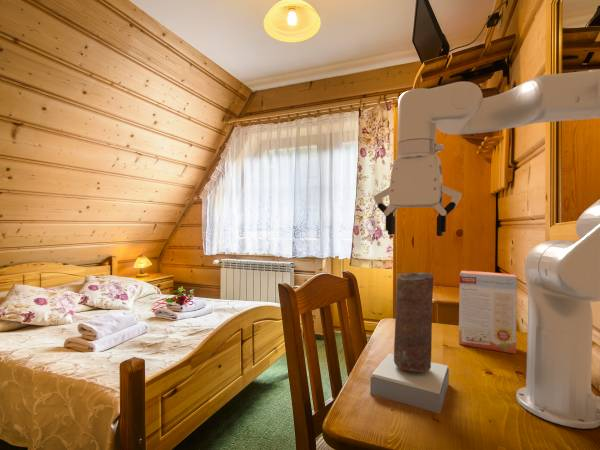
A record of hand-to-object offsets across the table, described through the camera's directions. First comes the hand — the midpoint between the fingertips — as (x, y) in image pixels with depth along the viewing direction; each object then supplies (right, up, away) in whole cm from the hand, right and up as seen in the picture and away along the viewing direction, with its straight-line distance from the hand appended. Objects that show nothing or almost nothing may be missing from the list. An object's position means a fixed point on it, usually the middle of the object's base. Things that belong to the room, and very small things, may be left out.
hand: (414, 235), depth 68 cm
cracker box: (+29, -33, +25) cm, 51 cm away
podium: (-1, -32, 0) cm, 32 cm away
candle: (0, -28, 0) cm, 28 cm away
